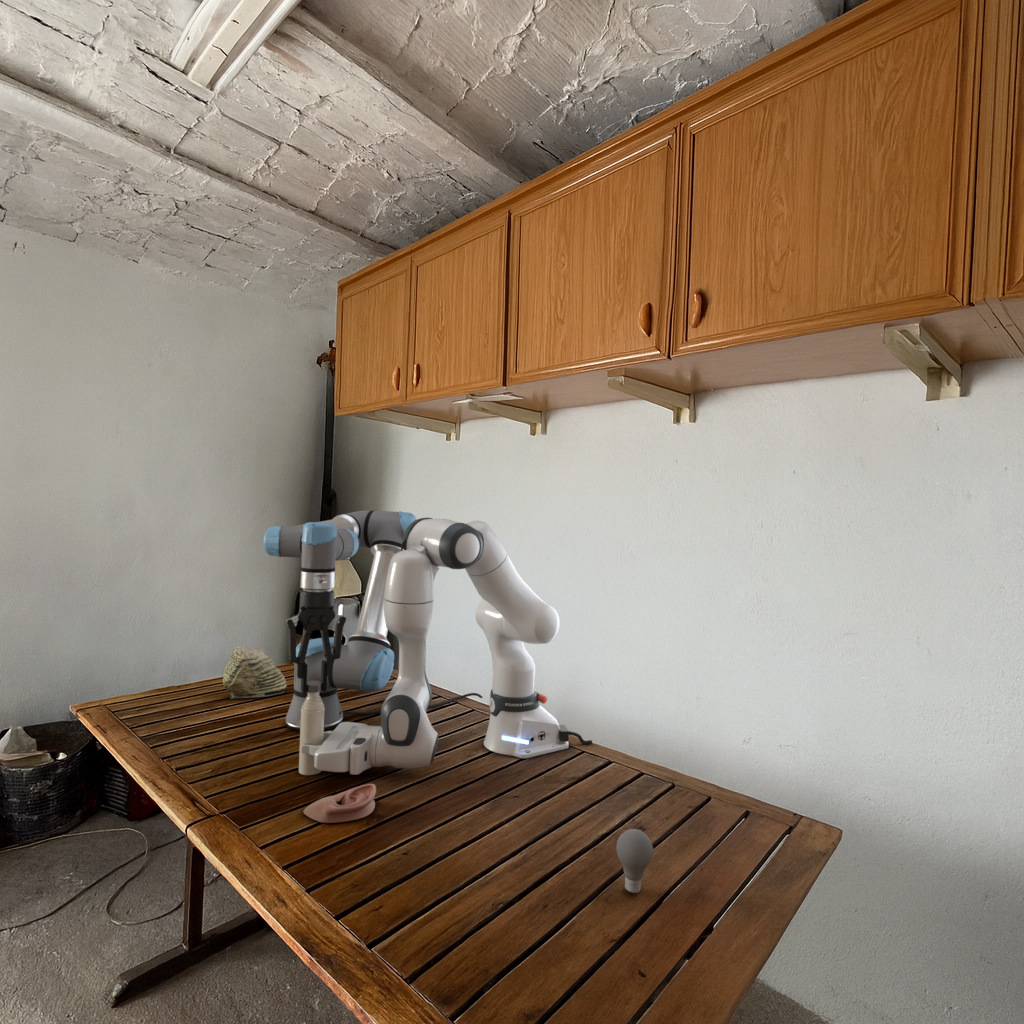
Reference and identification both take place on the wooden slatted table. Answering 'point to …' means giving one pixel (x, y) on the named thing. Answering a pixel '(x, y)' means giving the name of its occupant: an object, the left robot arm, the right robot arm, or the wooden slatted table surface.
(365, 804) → the anatomical model
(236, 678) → the fossil
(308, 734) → the bottle
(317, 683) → the cap
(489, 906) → the wooden slatted table surface
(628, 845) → the light bulb
